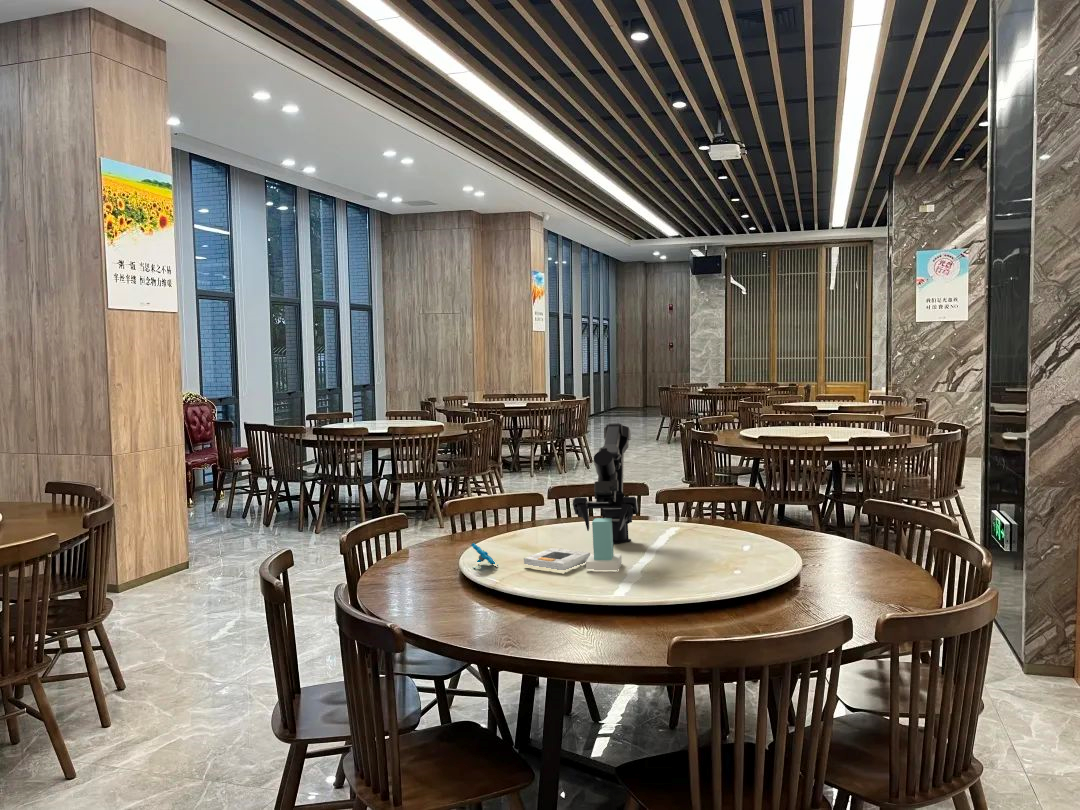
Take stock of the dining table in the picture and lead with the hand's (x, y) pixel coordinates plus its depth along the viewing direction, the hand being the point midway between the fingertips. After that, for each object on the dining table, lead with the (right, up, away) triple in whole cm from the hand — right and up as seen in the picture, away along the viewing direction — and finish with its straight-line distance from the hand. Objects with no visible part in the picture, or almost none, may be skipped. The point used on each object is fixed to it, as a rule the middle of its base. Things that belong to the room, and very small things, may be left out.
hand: (603, 530), depth 256 cm
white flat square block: (0, -11, -1) cm, 11 cm away
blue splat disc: (-35, -12, +7) cm, 37 cm away
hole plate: (-13, -11, +4) cm, 18 cm away
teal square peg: (0, -8, -1) cm, 8 cm away
